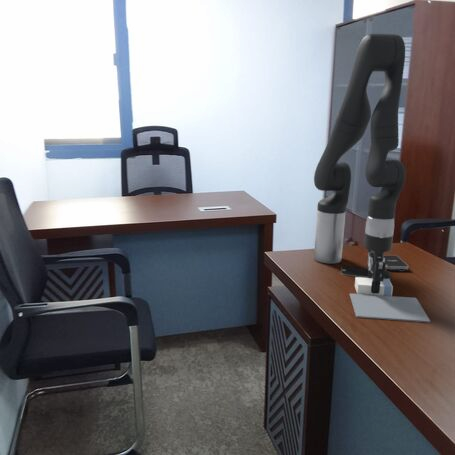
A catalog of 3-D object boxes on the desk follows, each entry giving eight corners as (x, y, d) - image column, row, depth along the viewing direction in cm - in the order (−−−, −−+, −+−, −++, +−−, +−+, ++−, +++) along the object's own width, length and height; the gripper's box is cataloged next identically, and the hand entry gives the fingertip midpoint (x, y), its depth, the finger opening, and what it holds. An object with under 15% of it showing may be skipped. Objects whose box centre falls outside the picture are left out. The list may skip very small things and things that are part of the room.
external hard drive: (387, 272, 150) (387, 266, 150) (376, 260, 161) (376, 254, 160) (408, 272, 150) (409, 266, 150) (396, 260, 161) (396, 255, 160)
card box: (357, 293, 132) (358, 284, 132) (354, 285, 138) (355, 276, 137) (391, 296, 131) (392, 286, 130) (387, 288, 137) (388, 279, 136)
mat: (349, 294, 132) (349, 293, 132) (415, 299, 129) (416, 297, 129) (356, 317, 118) (356, 315, 118) (430, 322, 116) (430, 321, 116)
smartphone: (341, 265, 153) (389, 270, 149) (341, 267, 154) (389, 272, 150) (340, 273, 146) (390, 279, 142) (340, 276, 147) (390, 281, 143)
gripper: (361, 224, 137) (356, 278, 142) (369, 239, 123) (363, 297, 128) (388, 226, 136) (381, 279, 141) (398, 240, 122) (391, 299, 127)
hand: (373, 288), depth 134 cm, fingers closed on card box, 5 cm apart
